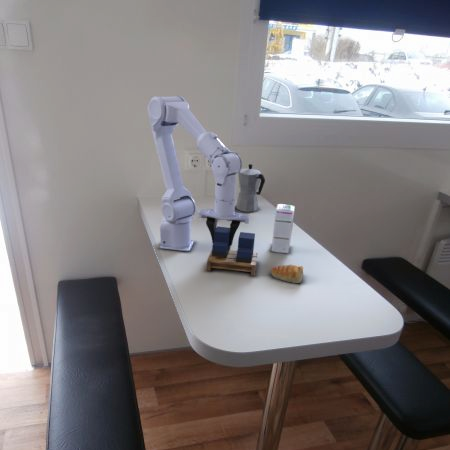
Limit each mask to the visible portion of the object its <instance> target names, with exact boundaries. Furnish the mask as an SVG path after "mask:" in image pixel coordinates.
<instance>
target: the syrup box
mask: <svg viewBox="0 0 450 450" xmlns="http://www.w3.org/2000/svg"><path fill="white" fill-rule="evenodd" d="M295 210H296V209H295V205H292V204H288V203H287V204H286V203H285V204H284V203H277V205H276V207H275V213H274V214H275V215H274V222H273V223H274V224H273V231H272V241H271V252H276V253H282V254H289V252H290V248H291V241H292V233H293V226H294V217H295Z"/></svg>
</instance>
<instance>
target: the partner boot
mask: <svg viewBox="0 0 450 450" xmlns="http://www.w3.org/2000/svg"><path fill="white" fill-rule="evenodd" d="M255 238H256V233H255V232H254V233H253V232H245V231H240V232H239V235H238V240H237V250H236V251H237V257H236V262H243V263H251V262H252V257H253V253H254V250H255V249H254V248H255Z"/></svg>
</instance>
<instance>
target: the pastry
mask: <svg viewBox="0 0 450 450" xmlns="http://www.w3.org/2000/svg"><path fill="white" fill-rule="evenodd" d="M270 274H271V276H272V277H274V278H275V279H277V280H281V281H283V282H287V283H293V284H301V283H302V281H303V277H304V266H302V265H300V266H299V265H294V264H288V265H286V264H285V265H276V266H274V267H272V268H271V270H270Z"/></svg>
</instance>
